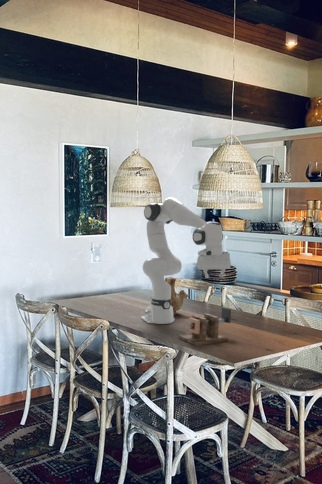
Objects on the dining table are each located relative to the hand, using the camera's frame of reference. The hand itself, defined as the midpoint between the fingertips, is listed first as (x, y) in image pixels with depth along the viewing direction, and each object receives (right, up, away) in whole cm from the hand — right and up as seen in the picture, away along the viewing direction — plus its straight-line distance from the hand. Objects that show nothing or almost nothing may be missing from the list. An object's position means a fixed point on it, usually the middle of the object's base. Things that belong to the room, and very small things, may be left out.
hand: (214, 277), depth 280 cm
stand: (-5, -33, -3) cm, 33 cm away
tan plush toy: (-22, -28, +59) cm, 69 cm away
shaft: (-3, -25, -3) cm, 25 cm away
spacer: (-11, -25, -8) cm, 28 cm away
